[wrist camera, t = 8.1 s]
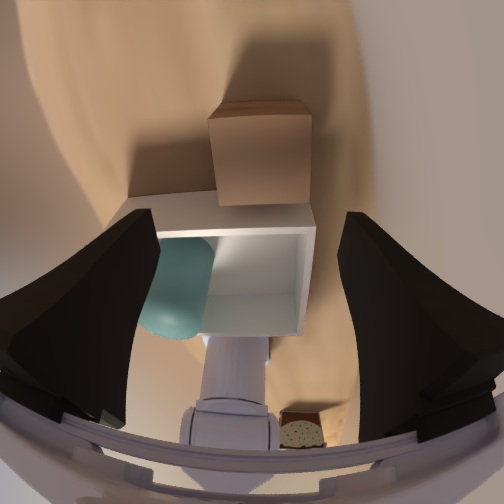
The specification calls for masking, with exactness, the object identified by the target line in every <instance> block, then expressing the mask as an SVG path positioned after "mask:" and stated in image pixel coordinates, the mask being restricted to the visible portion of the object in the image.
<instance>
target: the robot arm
mask: <svg viewBox="0 0 504 504" xmlns="http://www.w3.org/2000/svg"><path fill="white" fill-rule="evenodd" d="M160 253H161V249H160V245H159V241H158V237H157V233H156V229H155V225H154V221H153V217H152V212H151V208H143V209H135V210H133V211H132V212H130V213H129V214H127V215H126V216H124V217H123V218H122V219H120V220H119V221H117V222H116V223H115V224H114V225H112V226H111V227H110V228H108V229H107V230H106V231H105V232H103V233H102V234H101V235H99V236H98V237H97V238H96V239H94V240H93V241H92V242H90V243H89V244H88V245H86V246H85V247H84V248H83V249H81V250H80V251H79V252H77V253H76V254H75V255H74V256H72V257H71V258H69V259H68V260H66V261H65V262H63V263H62V264H60V265H59V266H57V267H56V268H54V269H53V270H51V271H50V272H48V273H46V274H45V275H43V276H41V277H40V278H38V279H37V280H35V281H33V282H32V283H30V284H28V285H26V286H24V287H23V288H21V289H19V290H17V291H15V292H13V293H11V294H9V295H7V296H5V297H3V298H1V299H0V370H1V372H0V458H1V459H2V460H3V461H4V462H5V463H6V464H7V465H8V466H9V467H10V468H11V469H12V470H13V471H14V472H15V473H16V474H17V475H18V476H19V477H20V478H21V479H23V480H24V481H25V482H26V483H27V484H28V485H29V486H31V487H32V488H33V489H34V490H35V491H36V492H38V493H39V494H40V495H41V496H43V497H44V498H45V499H46V500H48V501H49V502H50V503H52V504H456V503H457V502H459V501H460V500H462V499H463V498H465V497H466V496H467V495H469V494H470V493H471V492H473V491H474V490H475V489H477V488H478V487H479V486H481V485H482V484H483V483H484V482H486V481H487V480H488V479H489V478H490V477H492V476H493V475H494V474H495V473H496V472H497V471H499V470H500V469H501V468H502V467H503V466H504V392H503V393H501V394H499V395H497V396H496V397H494V398H493V395H492V391H493V390H494V389H495V388H496V384H495V381H494V379H495V378H496V377H497V376H498V375H499V374H500V373H502V372H503V371H504V318H502V317H500V316H499V315H496V314H495V313H493V312H491V311H489V310H487V309H486V308H484V307H482V306H480V305H479V304H477V303H475V302H474V301H472V300H471V299H469V298H467V297H466V296H464V295H463V294H462V293H460V292H459V291H457V290H456V289H454V288H453V287H451V286H450V285H449V284H447V283H446V282H444V281H443V280H442V279H440V278H439V277H438V276H437V275H435V274H434V273H433V272H431V271H430V270H429V269H427V268H426V267H425V266H424V265H422V264H421V263H420V262H419V261H418V260H417V259H416V258H414V257H413V256H412V255H411V254H410V253H409V252H407V251H406V250H405V249H404V248H403V247H402V246H401V245H400V244H399V243H397V242H396V241H395V240H394V239H393V238H392V237H391V236H390V235H389V234H387V233H386V232H385V231H384V230H383V229H382V228H381V227H380V226H379V225H378V224H376V223H375V222H374V221H373V220H372V219H371V218H369V217H368V216H367V215H366V214H364V213H363V212H348V211H347V215H346V220H345V224H344V229H343V233H342V237H341V241H340V245H339V249H338V253H337V257H338V264H339V270H340V277H341V281H342V284H343V288H344V292H345V295H346V299H347V303H348V306H349V310H350V314H351V317H352V321H353V325H354V330H355V335H356V342H357V350H358V359H359V373H360V426H359V438H358V439H359V443H357V444H350V445H343V446H335V447H326V448H316V449H302V450H279V447H280V426H279V421H278V418H277V417H276V416H275V415H274V414H273V413H268V406H267V405H265V365H268V364H269V337H218V336H202V339H203V341H204V344H205V347H206V349H207V350H206V356H205V364H204V371H203V378H202V385H201V393H200V400H197V402H196V407H192V406H191V407H190V408H189V409H187V410H186V411H185V412H184V415H183V418H182V422H181V428H180V444H179V443H172V442H167V441H162V440H156V439H152V438H147V437H143V436H138V435H134V434H130V433H126V432H122V431H118V430H115V429H120V428H122V427H124V425H126V422H125V421H126V419H125V418H126V417H125V416H126V413H125V412H126V388H127V378H128V369H129V362H130V356H131V350H132V344H133V340H134V335H135V330H136V327H137V323H138V320H139V317H140V314H141V311H142V309H143V306H144V303H145V300H146V298H147V295H148V292H149V290H150V287H151V284H152V281H153V279H154V276H155V273H156V270H157V266H158V262H159V257H160ZM90 421H92V422H94V423H92V422H90ZM96 423H98V424H96ZM99 424H101V425H99ZM102 425H105V426H108V427H111V428H108V427H105V426H102ZM112 428H115V429H112ZM99 446H100V447H104V448H107V449H110V450H113V451H116V452H119V453H123V454H126V455H130V456H133V457H138V458H141V459H145V460H149V461H154V462H159V463H163V464H169V465H174V466H180V467H182V471H183V472H184V473H185V474H186V475H187V476H188V477H190V478H191V479H192V480H193V481H195V482H196V483H197V484H198V485H200V486H201V487H202V488H203V489H204V490H205V491H203V490H195V489H188V488H182V487H176V486H170V485H165V484H160V483H155V482H153V481H152V480H153V470H152V469H149V468H145V467H142V466H138V465H135V464H131V463H128V462H126V461H122V460H119V459H116V458H113V457H110V456H107V455H105V454H104V453H103V451H102V449H101V448H100V447H99ZM373 462H375V463H374V464H373V465H372V466H371V468H370V470H367V471H363V472H358V473H353V474H347V475H341V476H337V477H332V478H325V479H321V480H320V481H319V492H313V493H299V494H248V493H249V492H251V491H252V490H254V489H256V488H257V487H259V486H260V485H262V484H264V483H266V482H267V481H269V480H270V479H271V478H272V477H273V476H274V474H280V473H281V474H283V473H302V472H314V471H323V470H333V469H340V468H346V467H352V466H358V465H363V464H368V463H373Z"/></svg>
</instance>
